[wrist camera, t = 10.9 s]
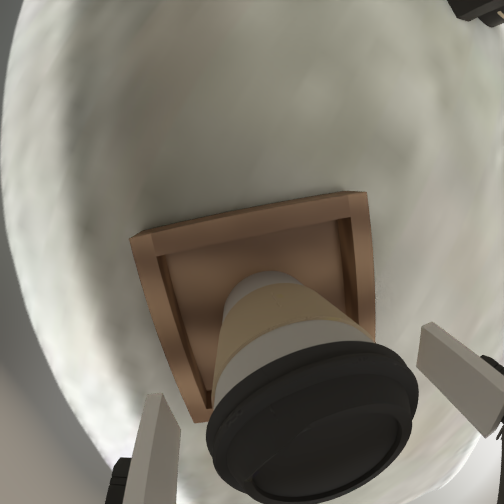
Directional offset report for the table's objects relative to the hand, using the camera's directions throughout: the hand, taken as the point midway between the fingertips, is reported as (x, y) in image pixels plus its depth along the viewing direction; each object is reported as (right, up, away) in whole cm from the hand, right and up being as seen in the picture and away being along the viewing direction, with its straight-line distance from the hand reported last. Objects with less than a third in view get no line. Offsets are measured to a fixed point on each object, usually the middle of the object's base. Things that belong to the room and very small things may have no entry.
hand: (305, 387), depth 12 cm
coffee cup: (-1, +2, +10) cm, 10 cm away
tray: (-1, +2, +11) cm, 11 cm away
